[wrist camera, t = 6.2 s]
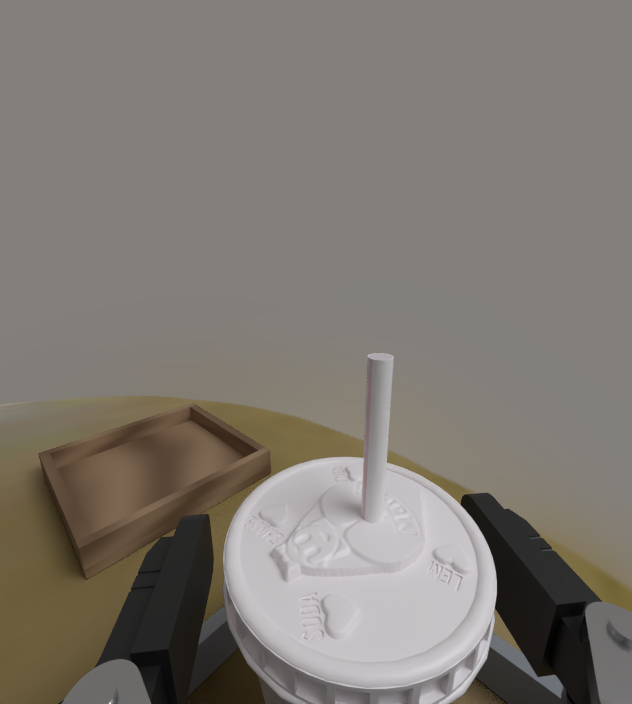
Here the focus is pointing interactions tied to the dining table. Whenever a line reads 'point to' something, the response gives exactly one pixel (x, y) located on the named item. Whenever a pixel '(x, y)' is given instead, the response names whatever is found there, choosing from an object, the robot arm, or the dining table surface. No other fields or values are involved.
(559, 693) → the grey square frame
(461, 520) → the smoothie
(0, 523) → the dining table surface
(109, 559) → the walnut tray
